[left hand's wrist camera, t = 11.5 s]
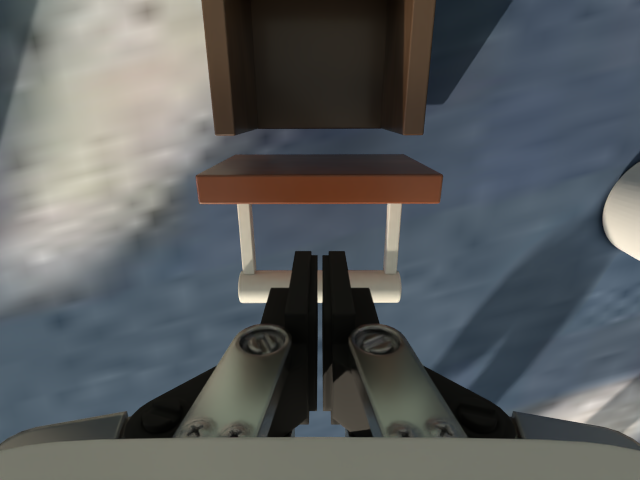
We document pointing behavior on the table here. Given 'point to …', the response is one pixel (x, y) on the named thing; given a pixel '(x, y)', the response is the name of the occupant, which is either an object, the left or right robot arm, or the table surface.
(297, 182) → the drawer
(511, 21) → the table surface
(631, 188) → the coffee cup
